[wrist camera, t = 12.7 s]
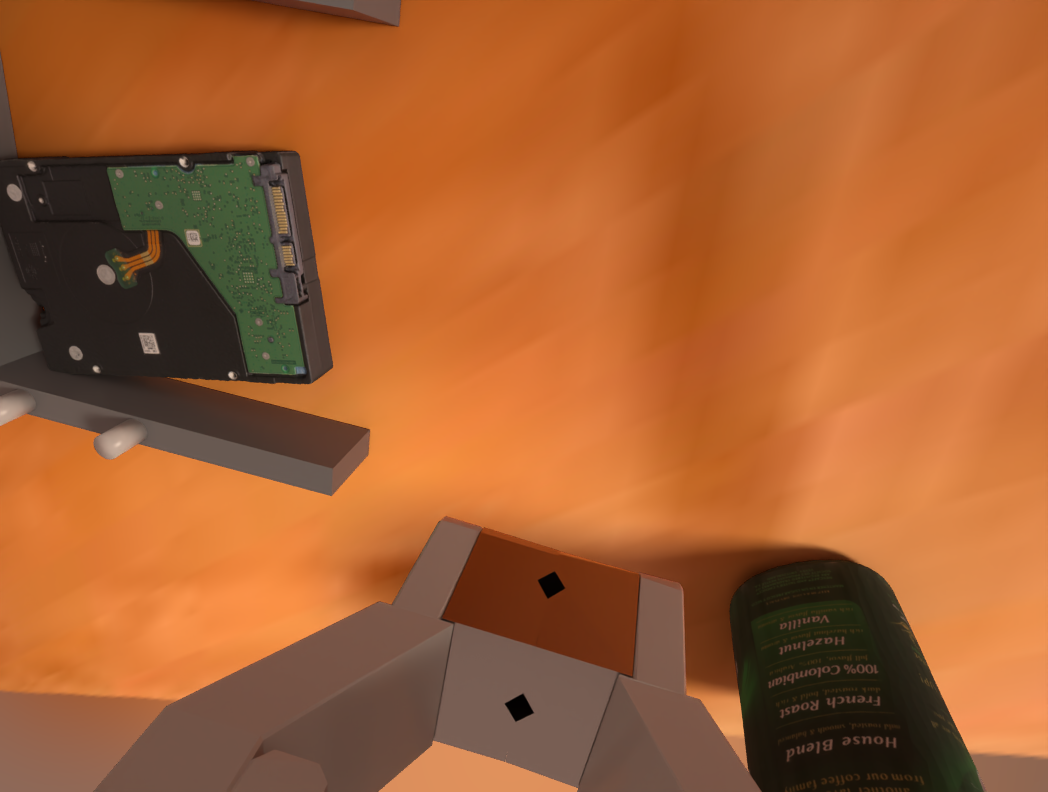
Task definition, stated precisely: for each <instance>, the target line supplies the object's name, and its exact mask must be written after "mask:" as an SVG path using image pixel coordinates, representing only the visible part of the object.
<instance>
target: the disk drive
mask: <svg viewBox="0 0 1048 792" xmlns="http://www.w3.org/2000/svg"><path fill="white" fill-rule="evenodd" d="M0 226H1V228H2V233H3V236H4V238H5V240H6V244H7V246H8V251H9V255H10V257H11V261H12V263H13V265H14V268H15V272H16V275H17V278H18V281H19V283H20V286H21V288H22V289H24V290H25V291H26V293H27V294H29V295H31V298H32V299H33V301H35V302H36V303H37V305H38V306H40V307H44V309H45V311H43V312H41V314H40V316H41V319H40V324H41V327H40V328H38V329H37V330H36V333H37V336H38V338H39V341H40V344H41V346H42V349H43V351H44V355H45V358H46V361H47V364H48V367H49V369H50V370H51V371H57V372H65V373H72V374H86V375H95V374H106V375H117V376H119V375H122V376H123V375H125V376H129V375H130V376H147V377H171V378H183V379H187V378H192V379H205V380H210V379H211V380H220V381H221V380H225V381H229V380H233V381H239V380H240V381H248V382H257V383H259V382H261V383H270V384H275V383H291V384H311V383H313V382H314V381H316V380H317V379H318V378H320V377H321V376H323V375H324V374H325V373H326V372H328V371H329V370H330V369H332V368H333V362H332V356H331V349H330V344H329V338H328V331H327V324H326V318H325V312H324V305H323V299H322V292H321V287H320V280H319V277H318V271H317V265H316V259H315V249H314V242H313V236H312V230H311V224H310V218H309V212H308V206H307V199H306V193H305V187H304V181H303V174H302V168H301V161H300V156H299V154H298V153H297V152H296V151H271V152H270V151H268V152H267V151H266V152H257V151H232V152H214V153H198V154H193V153H191V154H163V155H133V156H101V157H72V158H69V157H66V156H62V157H37V158H18V159H16V158H14V159H3V160H0Z"/></svg>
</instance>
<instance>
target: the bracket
mask: <svg viewBox="0 0 1048 792" xmlns="http://www.w3.org/2000/svg"><path fill="white" fill-rule="evenodd" d="M253 1H258V2H264V3H270V4H275V5H281V6H287V7H292V8H298V9H303V10H309V11H315V12H320V13H326V14H332V15H337V16H343V17H348V18H354V19H360V20H365V21H371V22H377V23H382V24H388V25H393V26H399V19H400V5H401V0H253ZM14 158H16V159H18V156H17V150H16V144H15V138H14V132H13V126H12V120H11V114H10V108H9V102H8V96H7V90H6V84H5V78H4V72H3V66H2V60H1V54H0V160H3V159H14ZM41 312H43V307H40V306H38V305H37V303H36V302H35V301H33V299H32V298H31V295H29V294H27V293H26V291H25V290H24V289H22V288H21V286H20V283H19V281H18V278H17V275H16V272H15V268H14V265H13V263H12V261H11V257H10V255H9V251H8V246H7V244H6V240H5V238H4V236H3V233H2V228H1V226H0V426H1V425H3V424H5V423H7V422H10V421H12V420H14V419H16V418H18V417H21V416H23V415H25V414H30V415H33V416H37V417H41V418H44V419H48V420H52V421H56V422H59V423H63V424H67V425H70V426H74V427H78V428H82V429H85V430H89V431H93V432H96V433H100V434H101V435H99V436H97V437H96V438H95V439H94V447H95V449H96V451H97V452H98V454H99V455H101V456H102V457H104V458H106V459H114V458H116V457H117V456H119V455H121V454H122V453H124V452H126V451H127V450H129V449H131V448H132V447H134V446H135V445H137V444H141V445H145V446H148V447H152V448H156V449H159V450H163V451H167V452H170V453H174V454H178V455H182V456H185V457H189V458H193V459H196V460H200V461H204V462H208V463H211V464H215V465H219V466H222V467H226V468H230V469H233V470H237V471H241V472H245V473H248V474H252V475H256V476H259V477H263V478H267V479H270V480H274V481H278V482H282V483H285V484H289V485H293V486H296V487H300V488H304V489H308V490H311V491H315V492H319V493H322V494H326V495H330V496H332V495H333V494H334V493H335V492H336V491H337V489H338V488H339V487H340V486H341V485H342V484H343V483H344V482H345V480H346V479H347V478H348V477H349V476H350V475H351V474H352V473H353V471H354V470H355V469H356V468H357V467H358V466H359V465H360V464H361V462H362V461H363V460H364V459H365V458H366V457H367V456H368V450H369V436H370V430H369V429H365V428H361V427H357V426H353V425H349V424H346V423H342V422H338V421H334V420H330V419H326V418H322V417H318V416H314V415H310V414H306V413H302V412H299V411H295V410H291V409H287V408H283V407H279V406H275V405H271V404H267V403H263V402H259V401H255V400H252V399H248V398H244V397H240V396H236V395H232V394H228V393H224V392H220V391H216V390H212V389H208V388H205V387H201V386H197V385H193V384H189V383H185V382H181V381H177V380H173V379H169V378H165V377H147V376H130V375H129V376H125V375H123V376H122V375H119V376H117V375H106V374H95V375H86V374H72V373H65V372H57V371H51V370H50V369H49V367H48V364H47V361H46V358H45V355H44V351H43V349H42V346H41V344H40V341H39V338H38V336H37V333H36V330H37V329H38V328H40V327H41V324H40V319H41V316H40V314H41Z"/></svg>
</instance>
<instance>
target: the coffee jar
mask: <svg viewBox="0 0 1048 792" xmlns="http://www.w3.org/2000/svg"><path fill="white" fill-rule="evenodd" d="M729 612H730V623H731V633H732V642H733V650H734V658H735V665H736V673H737V681H738V688H739V695H740V703H741V710H742V719H743V728H744V736H745V745H746V753H747V763H748V770H749V774H750V775H751V777H752V778H753V780H754V781H755V783H756V784H757V786H758V787H759V789H760V790H761V792H987V790H986V788H985V786H984V784H983V782H982V779H981V777H980V775H979V773H978V771H977V769H976V767H975V765H974V763H973V760H972V758H971V756H970V754H969V752H968V750H967V748H966V746H965V744H964V742H963V739H962V737H961V735H960V733H959V731H958V729H957V727H956V725H955V723H954V721H953V719H952V717H951V715H950V713H949V711H948V708H947V706H946V704H945V702H944V700H943V698H942V696H941V694H940V691H939V689H938V687H937V685H936V683H935V680H934V678H933V676H932V674H931V671H930V669H929V667H928V665H927V662H926V660H925V658H924V656H923V653H922V651H921V649H920V647H919V644H918V642H917V640H916V638H915V636H914V634H913V632H912V629H911V627H910V625H909V623H908V621H907V619H906V617H905V615H904V613H903V611H902V608H901V606H900V604H899V602H898V600H897V598H896V596H895V594H894V592H893V590H892V588H891V587H890V585H889V584H888V583H887V582H886V580H885V579H884V578H883V577H882V576H880V575H879V574H878V573H876V572H875V571H873V570H872V569H870V568H868V567H865V566H863V565H861V564H857V563H854V562H850V561H843V560H814V561H807V562H797V563H793V564H789V565H784V566H780V567H776V568H773V569H771V570H768V571H766V572H763V573H760V574H758V575H755V576H754V577H752V578H750V579H749V580H747V581H746V582H745V583H744V584H742V585H741V586H740V587H739V588H738V590H737V591H736V592H735V594H734V596H733V598H732V600H731V604H730V611H729Z"/></svg>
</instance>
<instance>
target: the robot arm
mask: <svg viewBox="0 0 1048 792" xmlns="http://www.w3.org/2000/svg"><path fill="white" fill-rule="evenodd" d="M433 740H434V741H437V742H441V743H444V744H447V745H451V746H454V747H458V748H461V749H464V750H467V751H471V752H474V753H477V754H481V755H485V756H488V757H491V758H494V759H498V760H501V761H504V762H505V760H506V762H507V763H510V764H513V765H516V766H519V767H521V768H524V769H527V770H529V771H532V772H535V773H538V774H541V775H543V776H546V777H549V778H552V779H554V780H557V781H560V782H563V783H565V784H568V785H571V786H574V787H576V788H578V791H577V792H761V790H760V789H759V787H758V786H757V784H756V783H755V781H754V780H753V778H752V777H751V775H750V774H749V772H748V771H747V769H746V768H745V766H744V765H743V763H742V762H741V760H740V759H739V757H738V756H737V754H736V753H735V751H734V750H733V748H732V747H731V745H730V744H729V742H728V741H727V739H726V738H725V736H724V735H723V733H722V732H721V730H720V729H719V727H718V726H717V724H716V723H715V721H714V720H713V718H712V717H711V715H710V714H709V712H708V711H707V709H706V708H705V706H704V705H703V703H702V702H701V700H700V699H697V698H694V697H690V696H687V695H686V664H685V629H684V594H683V588H682V586H681V584H680V583H678V582H674V581H670V580H667V579H663V578H659V577H655V576H651V575H647V574H644V573H639V574H638V573H635V572H632V571H628V570H625V569H621V568H618V567H614V566H610V565H607V564H603V563H600V562H596V561H593V560H589V559H586V558H582V557H578V556H575V555H571V554H568V553H564V552H561V551H559V550H555V549H552V548H549V547H546V546H542V545H539V544H536V543H533V542H530V541H526V540H523V539H520V538H517V537H514V536H510V535H507V534H504V533H501V532H497V531H494V530H491V529H488V528H485V527H484V528H482V527H480V526H477V525H473V524H470V523H467V522H463V521H460V520H457V519H453V518H450V517H447V516H445V517H444V518H443V519H442V520H441V521H439V522H438V524H437V526H436V527H435V529H434V531H433V533H432V534H431V536H430V538H429V540H428V542H427V543H426V545H425V547H424V549H423V550H422V552H421V554H420V556H419V557H418V559H417V561H416V563H415V564H414V566H413V568H412V570H411V571H410V573H409V575H408V577H407V579H406V580H405V582H404V584H403V586H402V587H401V589H400V591H399V593H398V594H397V596H396V598H395V600H394V601H393V603H392V605H390V604H387V603H383V602H380V601H379V602H377V603H375V604H373V605H371V606H369V607H367V608H365V609H363V610H361V611H359V612H357V613H355V614H353V615H351V616H349V617H347V618H344V619H342V620H340V621H338V622H336V623H334V624H332V625H330V626H328V627H326V628H324V629H322V630H320V631H318V632H316V633H314V634H312V635H310V636H308V637H306V638H304V639H302V640H300V641H298V642H296V643H294V644H292V645H290V646H288V647H286V648H283V649H281V650H279V651H277V652H275V653H273V654H271V655H269V656H267V657H265V658H263V659H261V660H259V661H257V662H255V663H253V664H251V665H249V666H247V667H245V668H243V669H241V670H239V671H237V672H235V673H233V674H231V675H229V676H227V677H224V678H222V679H220V680H218V681H216V682H214V683H212V684H210V685H208V686H206V687H204V688H202V689H200V690H198V691H196V692H194V693H192V694H190V695H188V696H186V697H184V698H182V699H180V700H178V701H176V702H174V703H172V704H170V705H168V706H166V707H165V708H164V709H163V711H162V712H161V713H160V714H159V715H158V716H157V718H156V719H155V720H154V721H153V722H152V723H151V724H150V726H149V727H148V728H147V729H146V730H145V732H144V733H143V734H142V735H141V736H140V737H139V739H138V740H137V741H136V742H135V743H134V745H133V746H132V747H131V748H130V749H129V750H128V752H127V753H126V754H125V755H124V756H123V757H122V758H121V760H120V761H119V762H118V763H117V764H116V765H115V767H114V768H113V769H112V770H111V771H110V773H109V774H108V775H107V776H106V777H105V778H104V780H103V781H102V782H101V783H100V784H99V785H98V787H97V788H96V789H95V790H94V791H93V792H378V791H379V790H380V789H382V788H383V787H384V786H385V785H386V784H387V783H389V782H390V781H391V780H392V779H393V778H394V777H396V776H397V775H398V774H399V773H400V772H401V771H403V770H404V769H405V768H406V767H407V766H408V765H410V764H411V763H412V762H413V761H414V760H415V759H417V758H418V757H419V756H420V755H421V754H422V753H424V752H425V751H426V750H427V749H428V748H429V747H430V746H432V742H433Z"/></svg>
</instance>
